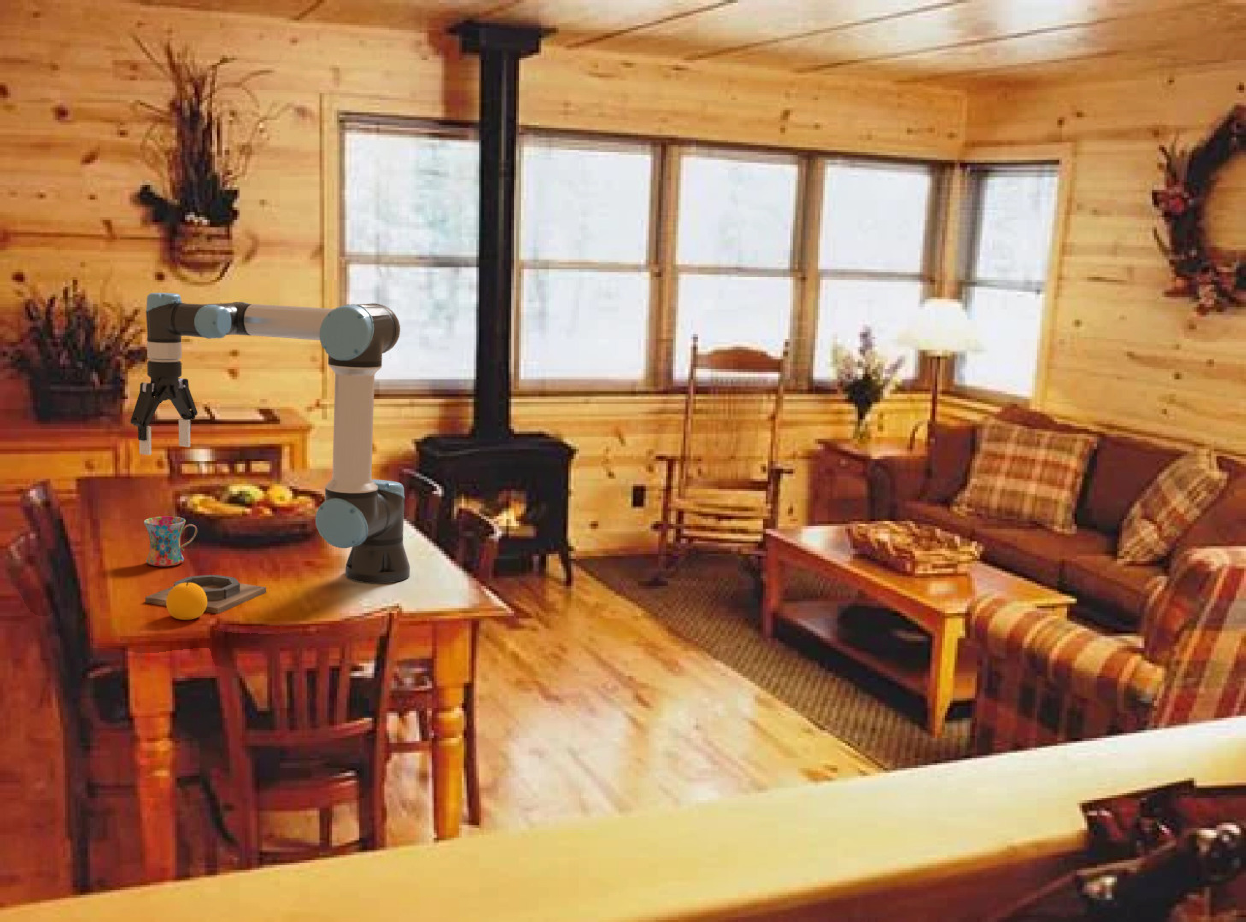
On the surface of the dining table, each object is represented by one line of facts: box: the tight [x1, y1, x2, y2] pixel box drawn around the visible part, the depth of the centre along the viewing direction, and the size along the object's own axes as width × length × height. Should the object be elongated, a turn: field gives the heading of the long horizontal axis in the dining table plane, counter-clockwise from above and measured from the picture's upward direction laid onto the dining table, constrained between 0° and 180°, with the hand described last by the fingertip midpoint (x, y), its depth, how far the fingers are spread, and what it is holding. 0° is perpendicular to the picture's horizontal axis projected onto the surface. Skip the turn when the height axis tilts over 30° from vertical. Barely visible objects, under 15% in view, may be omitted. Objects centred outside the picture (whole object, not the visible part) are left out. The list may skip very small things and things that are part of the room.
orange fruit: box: [166, 582, 207, 621], centre depth 255 cm, size 8×8×8 cm
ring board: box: [144, 574, 267, 615], centre depth 270 cm, size 18×18×3 cm
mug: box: [143, 515, 198, 567], centre depth 295 cm, size 12×9×11 cm
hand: (165, 450), depth 291 cm, fingers open, 13 cm apart
